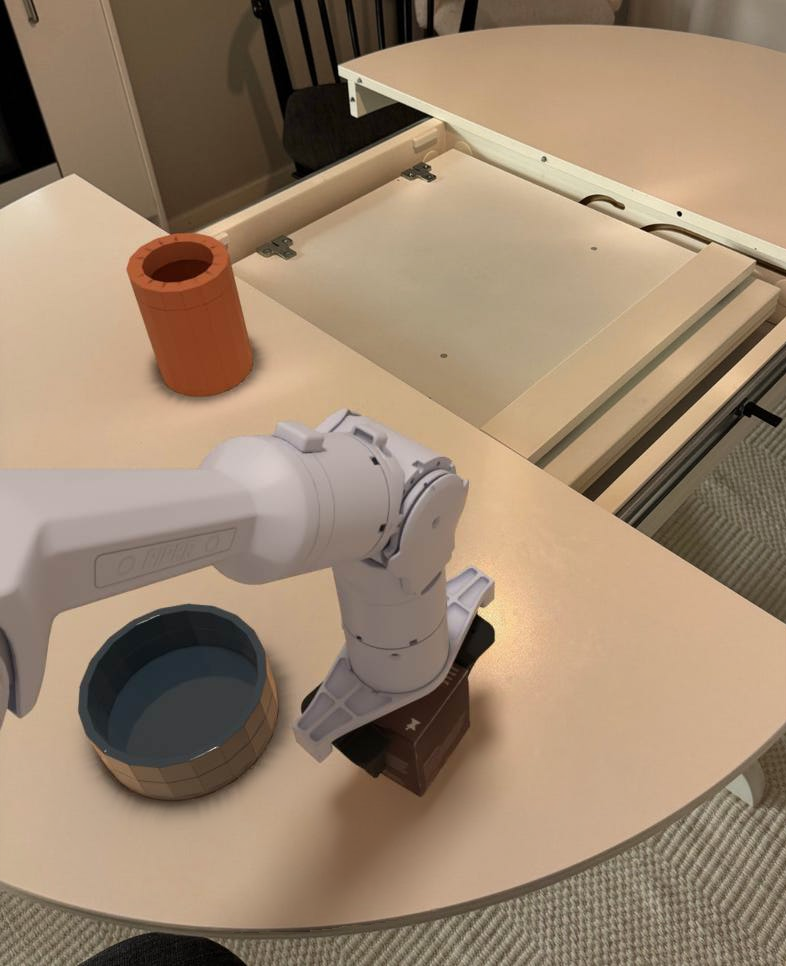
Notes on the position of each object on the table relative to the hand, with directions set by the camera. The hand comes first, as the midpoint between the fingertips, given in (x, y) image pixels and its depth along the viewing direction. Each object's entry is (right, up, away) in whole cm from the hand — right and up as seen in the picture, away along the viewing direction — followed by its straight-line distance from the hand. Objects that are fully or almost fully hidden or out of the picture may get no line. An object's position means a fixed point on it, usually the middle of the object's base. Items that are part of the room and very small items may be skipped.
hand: (408, 726), depth 61 cm
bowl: (-16, -1, +6) cm, 17 cm away
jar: (-22, +27, +31) cm, 46 cm away
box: (0, -1, +2) cm, 2 cm away
